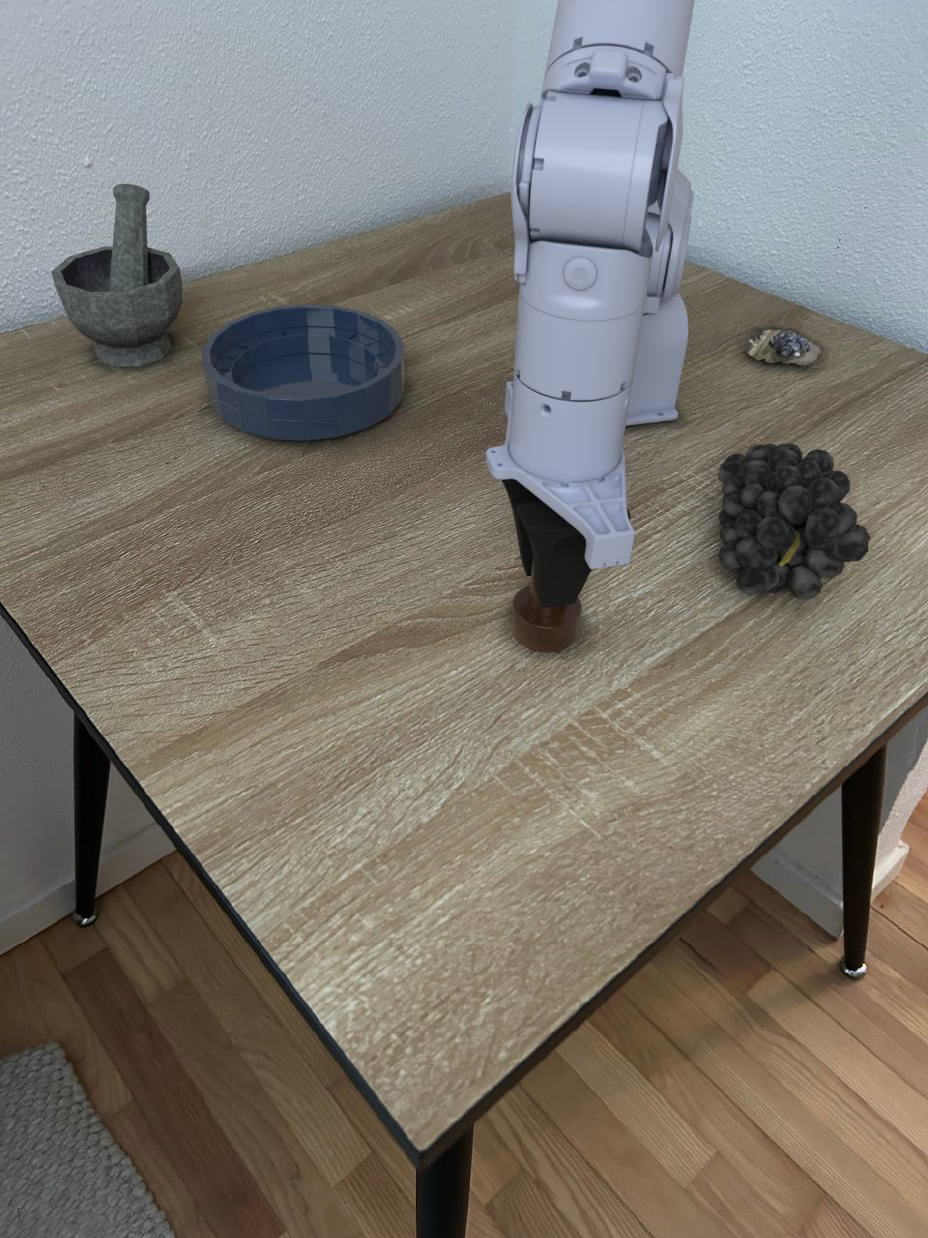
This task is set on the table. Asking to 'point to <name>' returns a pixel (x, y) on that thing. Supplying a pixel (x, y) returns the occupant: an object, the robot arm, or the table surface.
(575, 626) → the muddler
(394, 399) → the bowl
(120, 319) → the mortar and pestle
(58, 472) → the table surface
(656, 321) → the robot arm
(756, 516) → the fruit
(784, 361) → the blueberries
